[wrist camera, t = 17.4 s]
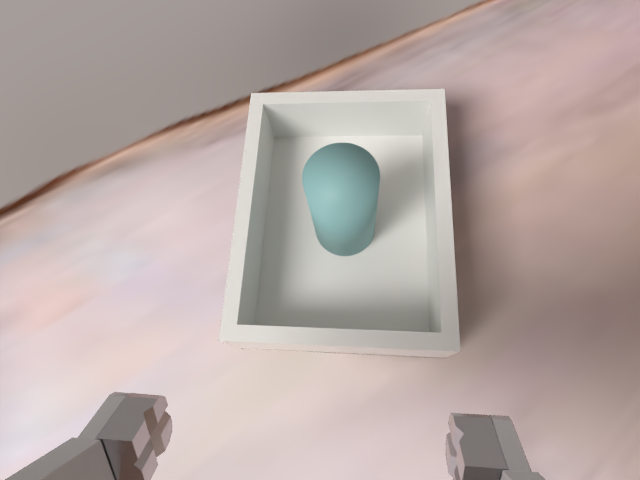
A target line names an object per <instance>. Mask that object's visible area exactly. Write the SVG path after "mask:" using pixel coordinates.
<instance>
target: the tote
mask: <svg viewBox="0 0 640 480" xmlns="http://www.w3.org/2000/svg"><path fill="white" fill-rule="evenodd" d="M333 143H352V144H355V145H358V146H360V147H362V148H364V149H366V150H367V151H368V152H369V153H370V154H371V155H372V156H373V157H374V158H375V160H376V162H377V164H378V166H379V170H380V184H379V193H378V203H377V213H376V223H375V232H374V236H373V239H372V241H371V243H370V244H369V245H368V246H367V248H365V249H364V250H363V251H361V252H360V253H358V254H355V255H351V256H338V255H335V254H332V253H330V252H328V251H327V250H326V249H325V248H323V246H322V245H321V244H320V242H319V241H318V239H317V235H316V232H315V228H314V224H313V221H312V217H311V213H310V210H309V206H308V202H307V198H306V195H305V191H304V187H303V183H302V174H303V169H304V166H305V164H306V162H307V161H308V159H309V158H310V157H311V155H312V154H313V153H315V152H316V151H317V150H319V149H320V148H322V147H324V146H326V145H329V144H333ZM219 341H221V342H224V343H226V344H229V345H232V346H235V347H238V348H241V349H259V350H281V351H302V352H324V353H345V354H367V355H389V356H410V357H432V358H446V357H448V356H451V355H453V354H456V353H458V352H461V351H460V334H459V318H458V301H457V284H456V268H455V251H454V234H453V218H452V201H451V185H450V168H449V151H448V135H447V118H446V102H445V89H414V90H370V91H326V92H282V93H251V99H250V107H249V115H248V122H247V130H246V137H245V145H244V152H243V160H242V167H241V175H240V183H239V190H238V198H237V205H236V213H235V220H234V228H233V236H232V243H231V251H230V258H229V266H228V273H227V281H226V288H225V296H224V304H223V311H222V319H221V326H220V334H219Z"/></svg>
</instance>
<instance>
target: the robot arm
mask: <svg viewBox="0 0 640 480" xmlns="http://www.w3.org/2000/svg"><path fill="white" fill-rule="evenodd" d="M167 406H168V404H167V401H166V397H164V396H159V395H147V394H136V393H122V392H114V393H112V394H111V395H109V396H108V398H107V399H106V400H105V402H104V403H103V404H102V406H101V407H100V408H99V410H98V411H97V412H96V414H95V415H94V416H93V418H92V419H91V420H90V422H89V423H88V424H87V426H86V427H85V428H84V430H83V431H82V432H81V434H80V435H79V436H78V438H71V439H70V440H68V441H66V442H65V443H63V444H62V445H60V446H58V447H57V448H55V449H54V450H52V451H50V452H49V453H47V454H46V455H44V456H42V457H41V458H39V459H38V460H36V461H34V462H33V463H31V464H29V465H28V466H26V467H25V468H23V469H21V470H20V471H18V472H17V473H15V474H13V475H12V476H10V477H9V478H7V479H5V480H151V478H152V476H153V474H154V472H155V470H156V468H157V466H158V463H157V458H156V457H157V456H159V455H160V454H161V453H163V452H164V451H165V450H166V448H167V446H168V444H169V441H170V437H171V433H172V420H171V416H170V415H169V414H168V413H167V412H165V409H166V408H167ZM448 424H449V429H450V432H449V433H448V434H447V436H446V461H447V467H448V472H449V474H450V475H451V476H452V477H453V480H545V479H544V478H543V477H542V476H541V475H540V474H539V473H538V472H532V471H531V469H530V466H529V463H528V461H527V458H526V456H525V453H524V451H523V448H522V446H521V443H520V440H519V438H518V435H517V433H516V430H515V428H514V425H513V423H512V420H511V419H510V418H509V416H496V415H489V416H488V415H480V414H460V413H451V414H450V416H449V422H448Z"/></svg>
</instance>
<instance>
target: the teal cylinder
mask: <svg viewBox="0 0 640 480" xmlns="http://www.w3.org/2000/svg"><path fill="white" fill-rule="evenodd" d="M302 183H303V187H304V191H305V195H306V198H307V202H308V206H309V210H310V213H311V217H312V221H313V224H314V228H315V232H316V235H317V239H318V241H319V242H320V244H321V245H322V246H323V248H325V249H326V250H327V251H328V252H330V253H332V254H335V255H338V256H351V255H355V254H358V253H360V252H361V251H363V250H364V249H365V248H367V246H368V245H369V244H370V243H371V241H372V239H373V236H374V232H375V223H376V213H377V203H378V193H379V184H380V170H379V166H378V164H377V162H376V160H375V158H374V157H373V156H372V155H371V154H370V153H369V152H368V151H367V150H366V149H364V148H362V147H360V146H358V145H355V144H352V143H333V144H329V145H326V146H324V147H322V148H320V149H319V150H317V151H316V152H315V153H313V154H312V155H311V157H310V158H309V159H308V161H307V162H306V164H305V166H304V169H303V174H302Z"/></svg>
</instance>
